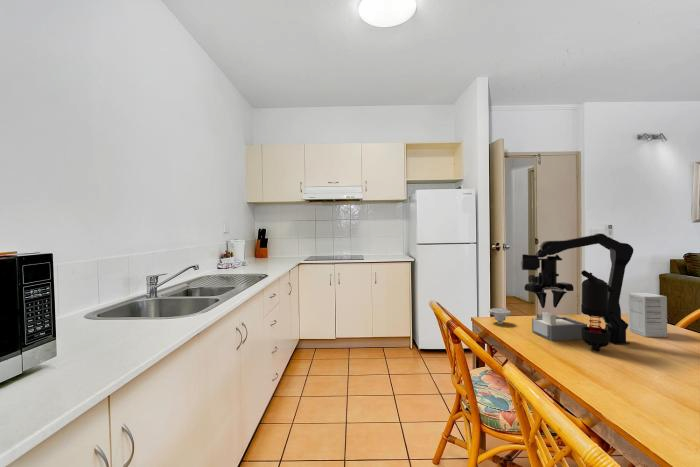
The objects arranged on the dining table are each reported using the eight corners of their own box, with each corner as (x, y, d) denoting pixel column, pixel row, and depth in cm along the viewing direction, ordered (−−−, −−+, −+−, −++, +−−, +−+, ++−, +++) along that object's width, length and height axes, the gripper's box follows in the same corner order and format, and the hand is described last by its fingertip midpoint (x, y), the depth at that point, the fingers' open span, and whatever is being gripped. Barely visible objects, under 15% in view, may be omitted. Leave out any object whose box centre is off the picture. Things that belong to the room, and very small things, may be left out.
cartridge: (576, 334, 143) (576, 315, 143) (547, 336, 142) (547, 316, 142) (561, 328, 152) (561, 310, 152) (533, 330, 150) (533, 311, 150)
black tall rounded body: (594, 355, 124) (594, 271, 123) (572, 347, 133) (572, 269, 132) (625, 352, 126) (625, 270, 126) (602, 344, 135) (602, 267, 135)
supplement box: (668, 337, 143) (668, 296, 143) (645, 337, 143) (645, 296, 143) (648, 330, 153) (648, 292, 152) (627, 330, 153) (627, 292, 153)
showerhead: (516, 309, 164) (500, 311, 160) (516, 324, 164) (500, 327, 160) (499, 305, 173) (484, 307, 168) (499, 320, 173) (485, 322, 168)
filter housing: (587, 338, 142) (587, 324, 142) (551, 340, 140) (551, 326, 140) (555, 326, 160) (555, 313, 160) (523, 328, 158) (523, 315, 158)
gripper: (555, 268, 155) (555, 302, 156) (516, 269, 153) (516, 304, 153) (574, 271, 144) (574, 308, 145) (533, 272, 142) (533, 310, 142)
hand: (548, 307), depth 146 cm, fingers open, 5 cm apart
